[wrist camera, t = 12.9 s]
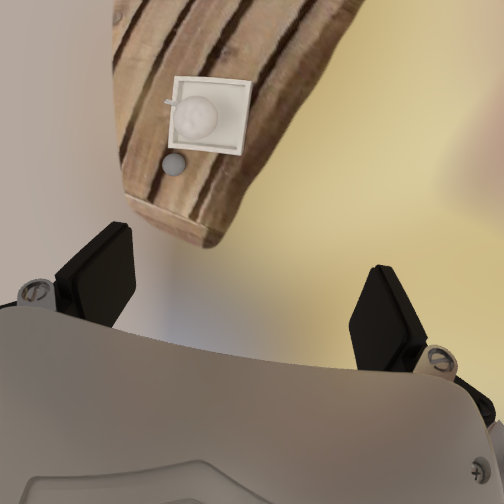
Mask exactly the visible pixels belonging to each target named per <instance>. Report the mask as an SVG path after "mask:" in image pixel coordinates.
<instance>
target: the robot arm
mask: <svg viewBox="0 0 504 504" xmlns="http://www.w3.org/2000/svg"><path fill="white" fill-rule="evenodd" d="M55 278H56V281H55V282H54V283H52V282H51V281H49V280H47V279H35V280H32V281H29V282H28V283H26V284H24V286H22V287H21V289H20V290H19V292H18V296H17V301H15V302H12V303H8V304H5V305H1V306H0V504H504V425H503V424H502V423H501V421H500V420H498V421H497V422H495V416H496V412H495V408H494V406H493V403H492V401H491V400H490V399H489V398H487V397H486V396H485V395H483V394H482V393H481V392H479V391H478V390H476V389H475V388H474V387H472V386H470V385H469V384H468V383H466V382H465V381H464V380H462V379H461V378H459V377H458V376H457V375H456V373H457V369H458V365H457V361H456V359H455V357H454V356H453V355H452V353H451V352H450V351H448V350H447V349H446V348H444V347H442V346H438V345H430V346H428V345H427V343H426V340H427V338H428V337H427V335H426V333H425V330H424V328H423V326H422V325H421V322H420V320H419V318H418V316H417V314H416V312H415V310H414V308H413V306H412V304H411V302H410V300H409V298H408V297H407V294H406V292H405V291H404V289H403V287H402V285H401V283H400V281H399V279H398V278H397V276H396V274H395V272H394V270H393V269H392V267H390V266H383V265H376V267H375V268H371V270H370V272H369V275H368V277H367V280H366V282H365V285H364V288H363V290H362V293H361V295H360V297H359V300H358V302H357V305H356V307H355V309H354V312H353V314H352V316H351V318H350V322H349V331H350V335H351V340H352V345H353V349H354V354H355V359H356V364H357V369H358V370H352V369H338V368H326V367H316V366H305V365H297V364H288V363H280V362H272V361H265V360H258V359H251V358H245V357H239V356H233V355H227V354H222V353H216V352H210V351H206V350H201V349H196V348H191V347H186V346H182V345H177V344H173V343H168V342H164V341H160V340H156V339H152V338H148V337H144V336H140V335H136V334H132V333H128V332H124V331H121V330H117V329H114V328H112V326H113V325H114V323H115V322H116V320H117V319H118V317H119V315H120V314H121V312H122V311H123V309H124V307H125V306H126V304H127V303H128V301H129V300H130V298H131V297H132V295H133V294H134V292H135V289H136V279H135V268H134V257H133V242H132V230H131V228H130V227H128V224H127V223H121V222H115V221H113V222H112V223H110V224H109V225H108V226H107V227H106V228H105V229H104V230H102V231H101V232H100V233H99V234H98V235H97V236H96V237H94V238H93V239H92V240H91V241H90V242H89V243H88V244H87V245H86V246H84V248H82V249H81V250H80V251H79V252H78V253H77V254H76V255H75V256H74V257H73V258H72V259H70V261H68V262H67V263H66V264H65V265H64V266H63V267H62V268H61V269H60V270H59V271H58V272H57V273H56V274H55Z"/></svg>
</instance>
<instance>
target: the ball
mask: <svg viewBox="0 0 504 504" xmlns="http://www.w3.org/2000/svg"><path fill="white" fill-rule="evenodd" d="M184 169H185V160H184V158H183V157H182V156H181V155H179V154H176V153H172V154H169V155H168V156H166V157H165V159H164V160H163V170H164V171H165V173H166V174H168V175H170V176H177V175H179V174H181V173H182V172H183V171H184Z"/></svg>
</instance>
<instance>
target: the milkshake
mask: <svg viewBox="0 0 504 504" xmlns="http://www.w3.org/2000/svg"><path fill="white" fill-rule="evenodd" d="M164 103H166V104H169V105H172V106H175V107H176V109H175V111H174V114H173V123H174V127H175V129H176V130H177V132H178V133H179V134H180V135H181V136H183V137H184V138H186V139H189V140H199V139H203V138H205V137H207V136H208V135H210V134H211V133H212V132H213V131H214V129H215V128H217V127H218V126H219V125H220V124H222V122H223V120H224V118H225V112H224V108H223V107H222V106H221V105H219V104H218V103H217V102H214V101H211V100H208V99H207V98H205V97H201V96H191V97H187V98H185V99H184V100H182V101H181V102H180V103H177V102H175V101H172V100H169V99H166V100H165V101H164Z"/></svg>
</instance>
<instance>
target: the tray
mask: <svg viewBox="0 0 504 504" xmlns="http://www.w3.org/2000/svg"><path fill="white" fill-rule="evenodd" d="M252 87H253V82H252V81H246V80H237V79H226V78H212V77H192V76H175V78H174V87H173V95H172V101H175V102H177V103H180V102H181V101H182V100H184V99H185V98H187V97H191V96H201V97H205V98H207V99H208V100H211V101H214V102H217V103H218V104H219V105H221V106H222V107H223V108H224V112H225V118H224V120H223V122H222V124H220V125H219V126H218V127H217V128H215V129H214V131H213V132H212V133H211V134H210V135H208V136H207V137H205V138H203V139H199V140H189V139H186V138H184V137H183V136H181V135H180V134H179V133H178V132H177V130H176V129H175V127H174V123H173V114H174V111H175V109H176V107H175V106H172V105H171V116H170V127H169V140H168V148H178V149H189V150H199V151H208V152H217V153H225V154H233V155H240V156H241V155H242V153H243V150H244V143H245V136H246V129H247V121H248V114H249V107H250V101H251V94H252Z"/></svg>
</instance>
